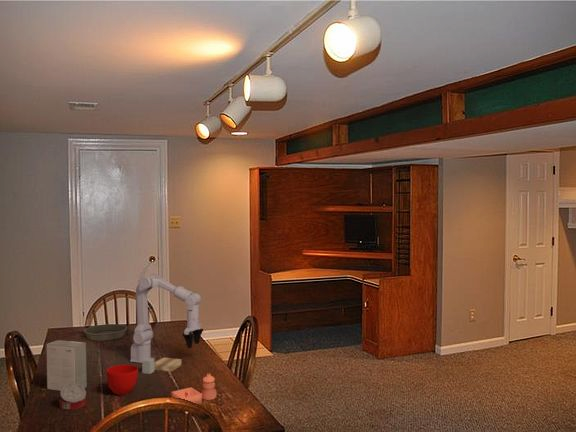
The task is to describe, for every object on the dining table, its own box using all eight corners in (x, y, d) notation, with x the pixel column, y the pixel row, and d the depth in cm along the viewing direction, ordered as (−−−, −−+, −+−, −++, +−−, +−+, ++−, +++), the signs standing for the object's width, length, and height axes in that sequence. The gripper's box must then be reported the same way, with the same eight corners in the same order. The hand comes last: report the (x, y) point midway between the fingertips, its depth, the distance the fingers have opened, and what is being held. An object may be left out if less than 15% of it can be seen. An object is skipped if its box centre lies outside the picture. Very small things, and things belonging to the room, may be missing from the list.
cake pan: (116, 328, 348) (116, 321, 348) (134, 336, 330) (134, 329, 330) (77, 335, 331) (77, 328, 331) (94, 344, 313) (94, 336, 313)
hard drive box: (87, 387, 243) (86, 342, 242) (75, 393, 236) (74, 347, 235) (58, 383, 248) (58, 339, 247) (46, 389, 241) (45, 343, 240)
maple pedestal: (152, 369, 268) (152, 363, 268) (163, 363, 277) (163, 357, 277) (171, 371, 265) (171, 365, 265) (181, 365, 274) (181, 359, 274)
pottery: (181, 409, 219) (181, 384, 219) (171, 401, 227) (171, 378, 227) (221, 399, 230) (221, 375, 230) (210, 392, 238) (210, 369, 237)
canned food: (83, 412, 228) (95, 390, 229) (74, 419, 218) (87, 396, 218) (58, 399, 228) (70, 377, 229) (49, 406, 218) (61, 383, 219)
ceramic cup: (121, 382, 249) (121, 360, 248) (144, 391, 238) (144, 368, 238) (95, 390, 239) (95, 367, 238) (118, 400, 228) (117, 376, 228)
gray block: (142, 373, 263) (142, 360, 262) (146, 370, 266) (146, 358, 266) (149, 373, 261) (149, 361, 261) (154, 371, 265) (154, 358, 265)
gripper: (193, 322, 264) (193, 350, 265) (206, 315, 278) (207, 342, 279) (180, 321, 266) (180, 349, 267) (194, 314, 280) (194, 341, 281)
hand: (193, 345), depth 273 cm, fingers open, 7 cm apart
